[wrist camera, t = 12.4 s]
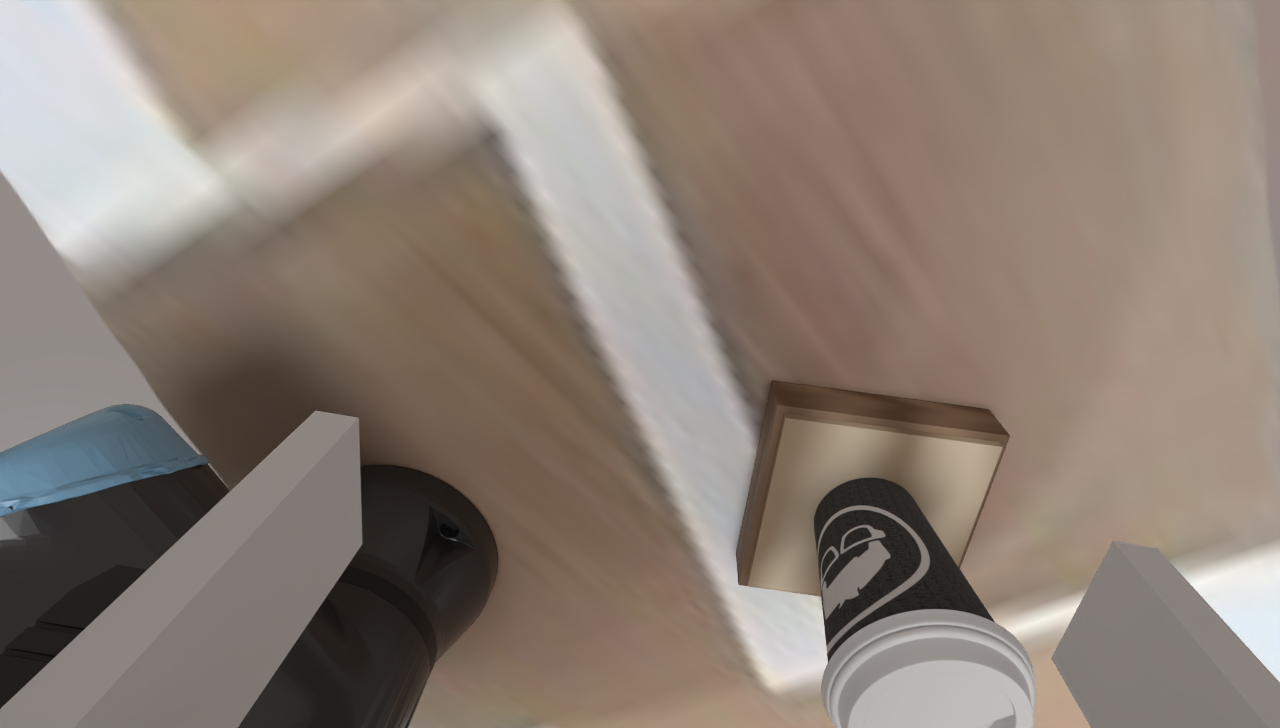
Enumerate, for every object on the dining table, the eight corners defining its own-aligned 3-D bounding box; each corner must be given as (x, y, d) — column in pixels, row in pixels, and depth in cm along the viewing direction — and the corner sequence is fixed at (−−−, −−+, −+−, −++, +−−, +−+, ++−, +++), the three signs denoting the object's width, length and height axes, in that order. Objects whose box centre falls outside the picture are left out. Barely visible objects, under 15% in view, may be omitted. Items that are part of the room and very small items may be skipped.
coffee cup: (795, 585, 47) (835, 802, 34) (783, 464, 44) (822, 653, 30) (943, 573, 46) (1047, 795, 32) (944, 447, 42) (1061, 637, 29)
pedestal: (736, 552, 52) (739, 590, 48) (772, 380, 46) (778, 409, 42) (928, 579, 51) (945, 619, 48) (988, 409, 46) (1014, 441, 42)
